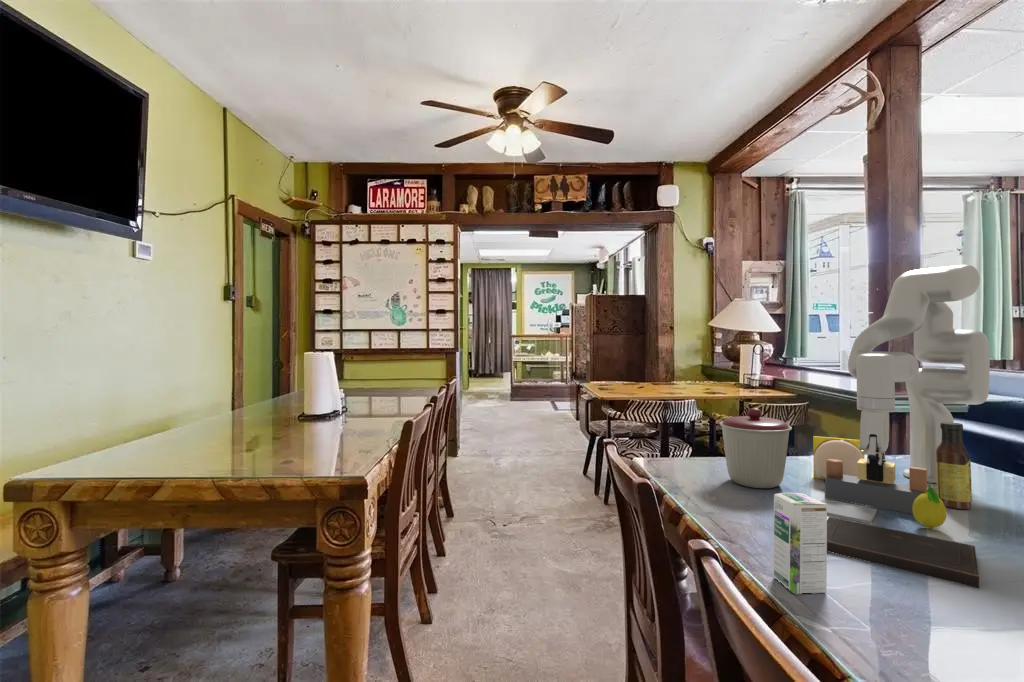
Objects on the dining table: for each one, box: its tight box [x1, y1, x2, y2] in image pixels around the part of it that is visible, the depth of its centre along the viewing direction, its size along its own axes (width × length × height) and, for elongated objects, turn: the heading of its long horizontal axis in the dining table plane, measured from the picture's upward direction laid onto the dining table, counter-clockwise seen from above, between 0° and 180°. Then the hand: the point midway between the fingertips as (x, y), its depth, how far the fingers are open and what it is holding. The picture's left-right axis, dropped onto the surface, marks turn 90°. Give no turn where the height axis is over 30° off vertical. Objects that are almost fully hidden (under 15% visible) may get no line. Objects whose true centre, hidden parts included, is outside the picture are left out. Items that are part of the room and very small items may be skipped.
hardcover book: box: [827, 516, 980, 589], centre depth 92 cm, size 16×23×2 cm
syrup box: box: [772, 492, 828, 595], centre depth 80 cm, size 6×6×14 cm
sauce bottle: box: [936, 422, 973, 510], centre depth 117 cm, size 7×6×20 cm
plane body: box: [824, 459, 928, 515], centre depth 119 cm, size 7×20×10 cm, turn 47°
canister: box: [719, 407, 793, 489], centre depth 136 cm, size 18×18×21 cm
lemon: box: [912, 482, 947, 530], centre depth 103 cm, size 7×6×10 cm
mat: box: [823, 499, 878, 525], centre depth 113 cm, size 10×10×1 cm
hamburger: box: [812, 435, 865, 480], centre depth 137 cm, size 12×8×12 cm
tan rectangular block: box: [857, 458, 897, 484], centre depth 119 cm, size 5×7×4 cm
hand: (876, 477), depth 119 cm, fingers closed on tan rectangular block, 5 cm apart
